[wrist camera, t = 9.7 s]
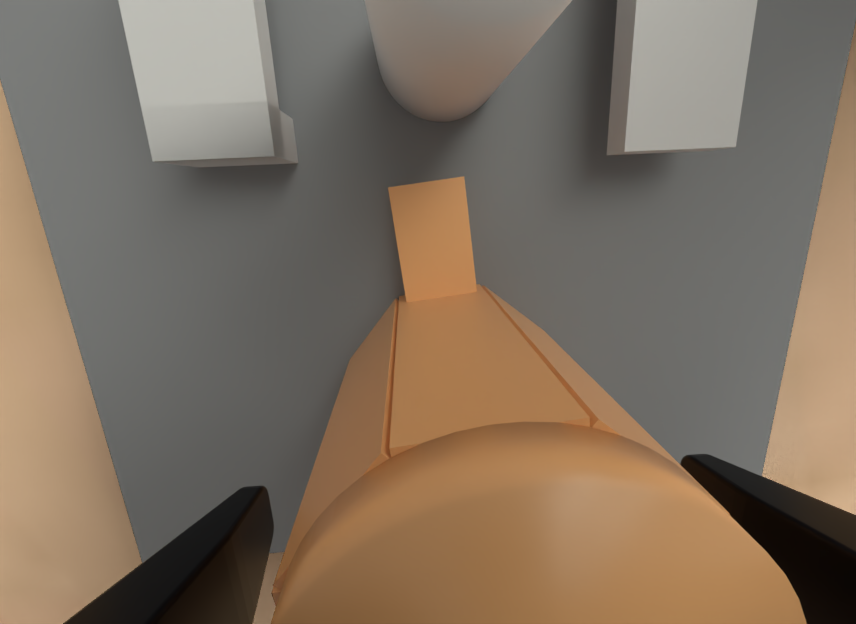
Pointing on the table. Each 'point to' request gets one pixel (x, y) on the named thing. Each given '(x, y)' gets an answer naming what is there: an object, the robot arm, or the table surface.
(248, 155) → the stand
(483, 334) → the tan rounded piece
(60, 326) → the table surface
